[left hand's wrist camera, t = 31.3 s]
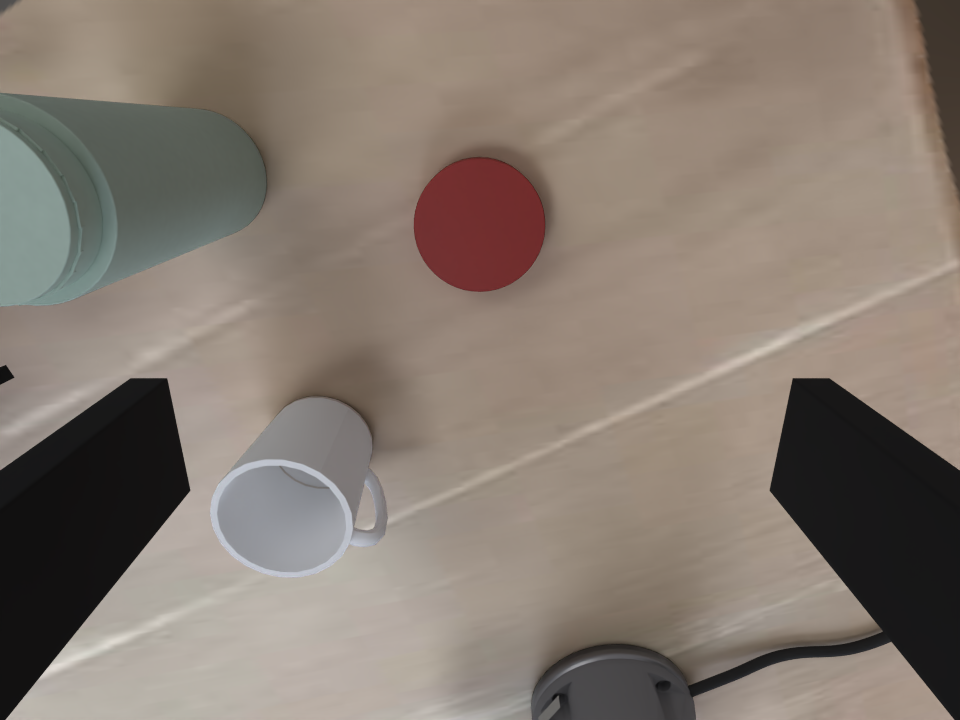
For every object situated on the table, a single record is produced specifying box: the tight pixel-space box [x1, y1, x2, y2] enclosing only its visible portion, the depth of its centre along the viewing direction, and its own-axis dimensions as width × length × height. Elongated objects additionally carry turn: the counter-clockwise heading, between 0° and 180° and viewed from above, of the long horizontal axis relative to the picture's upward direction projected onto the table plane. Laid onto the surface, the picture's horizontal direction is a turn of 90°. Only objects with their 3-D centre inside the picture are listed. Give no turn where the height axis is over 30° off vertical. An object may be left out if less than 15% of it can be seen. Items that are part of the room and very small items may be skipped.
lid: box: [414, 157, 545, 292], centre depth 40 cm, size 9×9×2 cm
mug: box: [210, 396, 388, 577], centre depth 42 cm, size 11×9×10 cm
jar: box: [0, 93, 267, 306], centre depth 31 cm, size 8×8×20 cm
